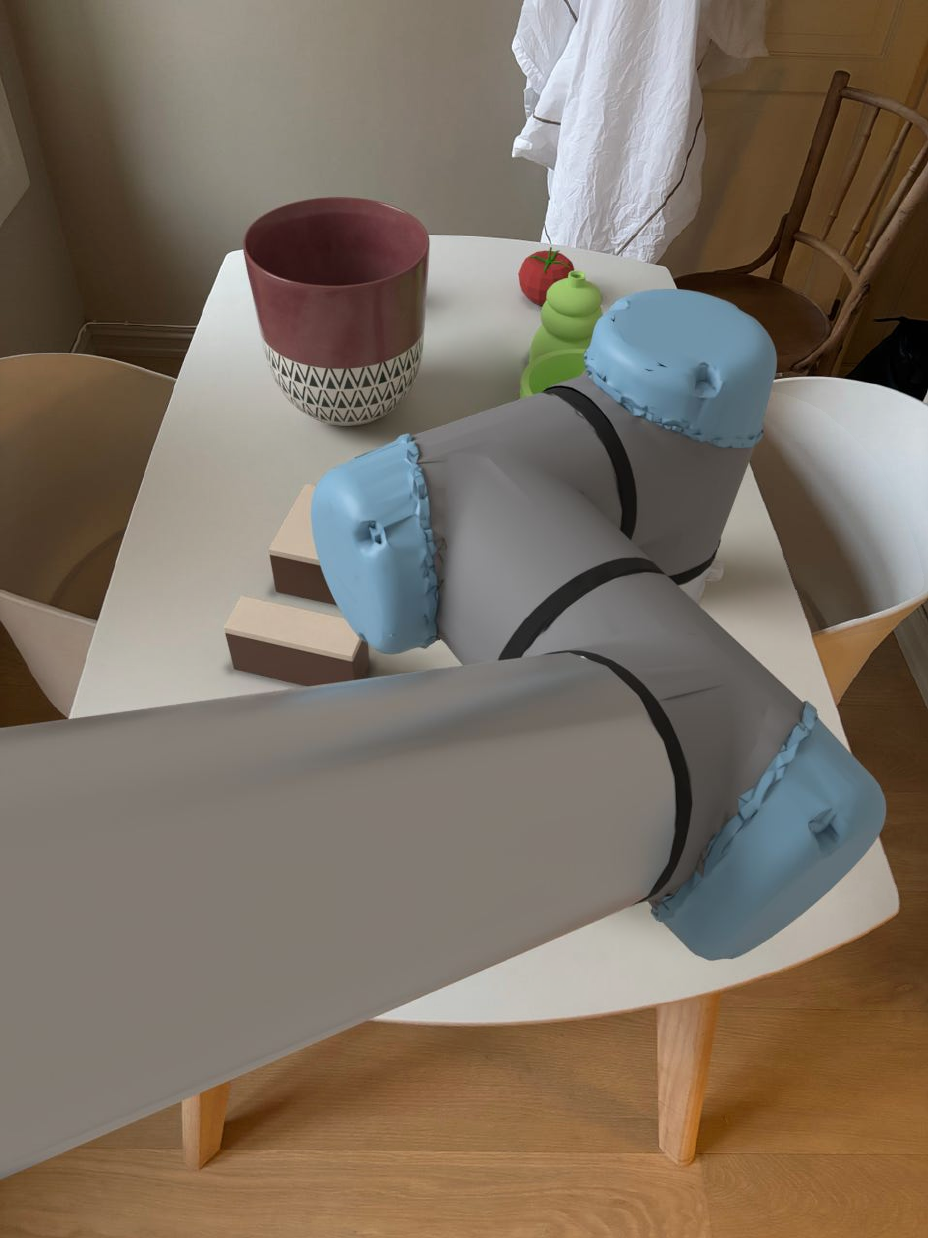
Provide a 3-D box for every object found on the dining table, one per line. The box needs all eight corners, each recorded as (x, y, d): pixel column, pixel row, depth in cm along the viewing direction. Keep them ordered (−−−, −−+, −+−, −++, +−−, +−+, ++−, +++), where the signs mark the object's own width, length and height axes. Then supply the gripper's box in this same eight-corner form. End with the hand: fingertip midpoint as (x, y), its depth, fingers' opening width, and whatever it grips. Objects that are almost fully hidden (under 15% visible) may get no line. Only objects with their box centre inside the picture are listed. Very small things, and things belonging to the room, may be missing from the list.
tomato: (582, 296, 133) (589, 245, 128) (556, 321, 129) (562, 268, 123) (533, 279, 136) (538, 228, 130) (506, 303, 132) (510, 251, 126)
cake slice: (355, 697, 86) (352, 656, 81) (233, 669, 87) (223, 627, 83) (369, 664, 88) (367, 623, 84) (250, 637, 90) (241, 595, 85)
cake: (389, 616, 92) (388, 574, 88) (275, 591, 94) (268, 548, 90) (418, 548, 99) (418, 505, 94) (311, 526, 100) (305, 483, 96)
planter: (302, 477, 106) (280, 303, 90) (246, 384, 117) (217, 216, 101) (456, 431, 112) (461, 262, 96) (388, 348, 123) (383, 183, 107)
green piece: (646, 465, 109) (668, 372, 100) (522, 465, 108) (532, 371, 99) (615, 345, 125) (630, 255, 116) (506, 344, 125) (513, 254, 115)
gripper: (671, 821, 39) (595, 1003, 55) (715, 460, 56) (647, 680, 71) (497, 778, 40) (472, 969, 56) (591, 436, 57) (551, 659, 72)
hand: (570, 808), depth 64 cm, fingers open, 13 cm apart
